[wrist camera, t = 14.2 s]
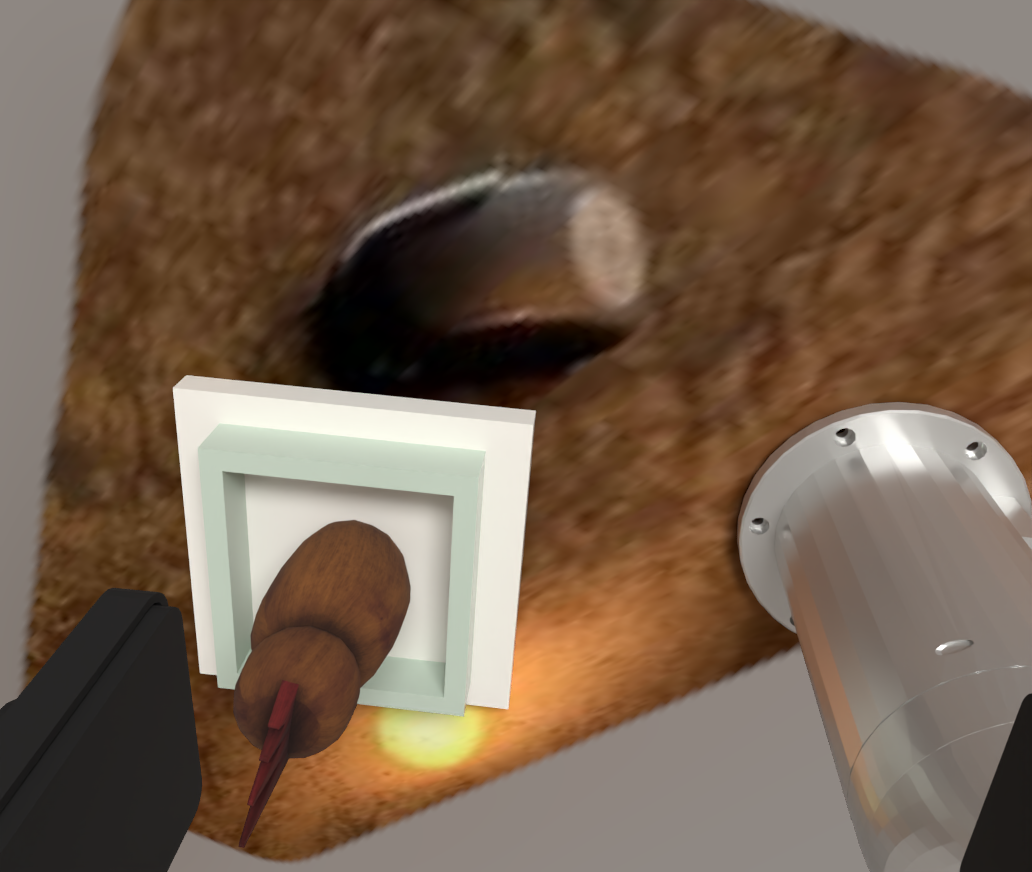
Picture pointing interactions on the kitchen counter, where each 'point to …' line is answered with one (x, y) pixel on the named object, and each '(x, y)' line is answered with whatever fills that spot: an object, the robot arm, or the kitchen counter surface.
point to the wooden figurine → (317, 646)
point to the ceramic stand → (369, 499)
